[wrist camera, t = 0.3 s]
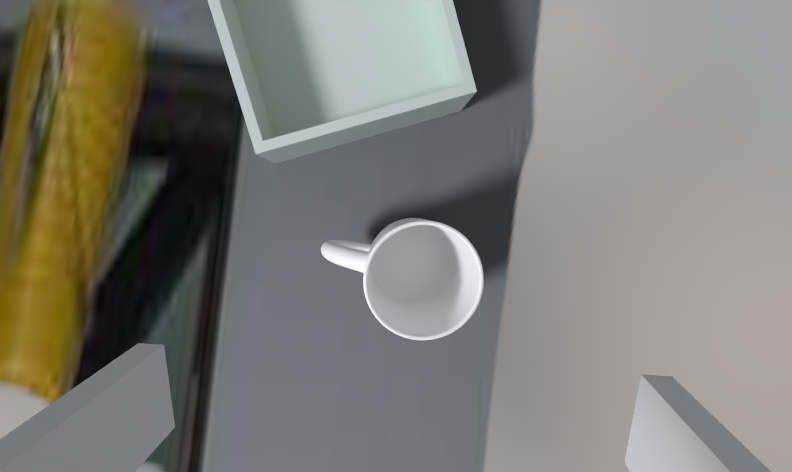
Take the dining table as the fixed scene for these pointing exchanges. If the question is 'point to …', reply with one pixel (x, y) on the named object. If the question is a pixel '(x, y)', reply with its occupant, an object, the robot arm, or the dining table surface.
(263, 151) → the bin
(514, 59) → the dining table surface
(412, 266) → the mug
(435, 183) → the dining table surface
